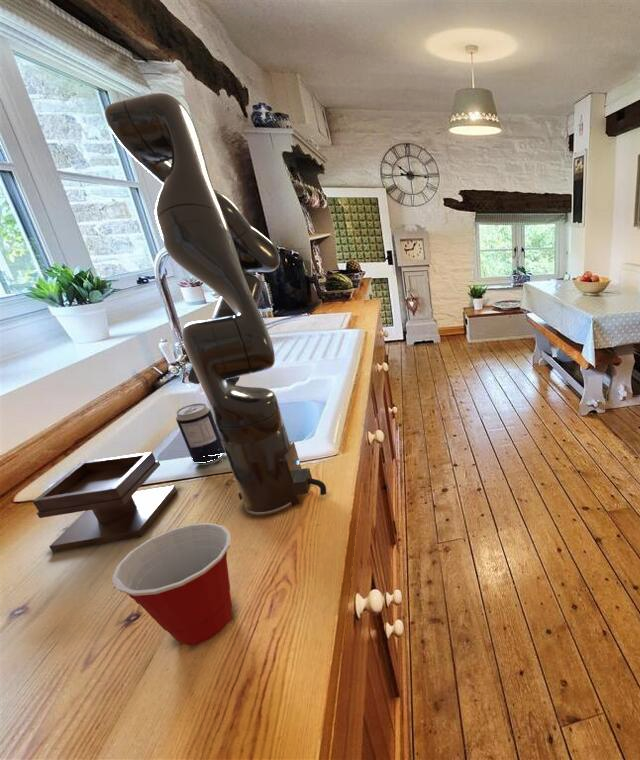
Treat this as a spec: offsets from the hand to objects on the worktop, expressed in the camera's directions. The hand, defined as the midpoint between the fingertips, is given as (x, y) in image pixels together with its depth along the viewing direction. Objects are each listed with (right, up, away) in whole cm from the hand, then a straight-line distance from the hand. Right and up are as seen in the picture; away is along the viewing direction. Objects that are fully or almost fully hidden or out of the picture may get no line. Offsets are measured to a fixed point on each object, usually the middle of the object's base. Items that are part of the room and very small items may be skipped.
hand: (211, 383), depth 86 cm
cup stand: (-4, -23, -16) cm, 28 cm away
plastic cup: (+24, -30, -34) cm, 52 cm away
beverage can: (0, -16, 0) cm, 16 cm away
